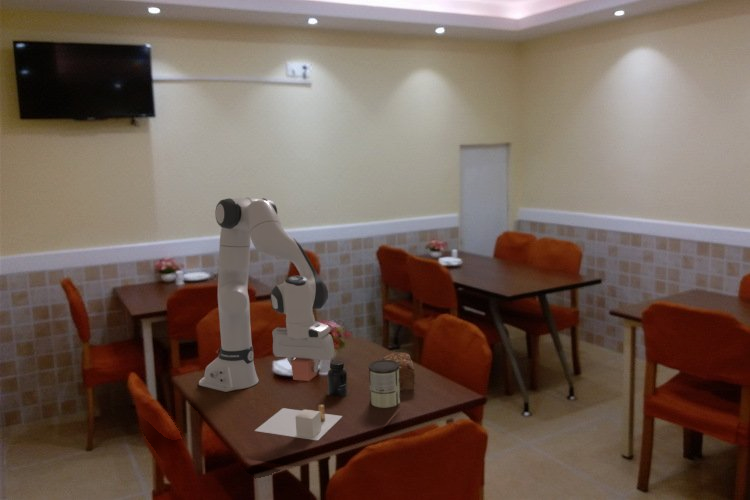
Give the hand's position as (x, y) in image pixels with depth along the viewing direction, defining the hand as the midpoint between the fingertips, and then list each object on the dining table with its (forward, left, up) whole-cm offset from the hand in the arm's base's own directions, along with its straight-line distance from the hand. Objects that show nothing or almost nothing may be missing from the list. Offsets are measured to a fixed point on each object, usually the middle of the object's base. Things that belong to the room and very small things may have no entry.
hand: (305, 370), depth 205 cm
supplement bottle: (-1, +25, -18) cm, 31 cm away
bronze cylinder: (+4, +2, -17) cm, 18 cm away
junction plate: (-2, -2, -18) cm, 18 cm away
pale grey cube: (+4, -7, -17) cm, 19 cm away
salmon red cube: (0, 0, -2) cm, 2 cm away
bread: (+15, +43, -18) cm, 49 cm away
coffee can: (+18, +22, -18) cm, 34 cm away
